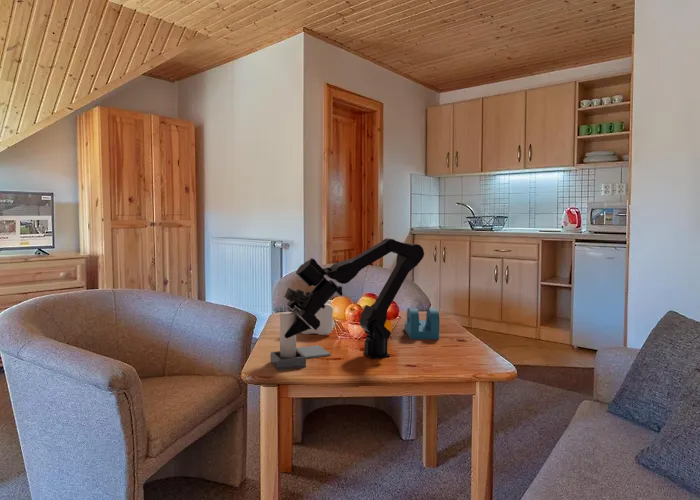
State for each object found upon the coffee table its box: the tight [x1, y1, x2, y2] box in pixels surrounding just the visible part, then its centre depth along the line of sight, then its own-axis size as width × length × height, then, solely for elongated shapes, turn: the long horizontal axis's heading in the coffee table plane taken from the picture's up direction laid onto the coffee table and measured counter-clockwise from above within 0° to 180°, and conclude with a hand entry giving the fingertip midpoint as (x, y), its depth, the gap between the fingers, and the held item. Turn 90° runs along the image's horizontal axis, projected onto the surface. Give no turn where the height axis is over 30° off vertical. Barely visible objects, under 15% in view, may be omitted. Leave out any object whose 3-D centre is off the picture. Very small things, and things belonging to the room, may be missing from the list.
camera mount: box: [404, 307, 441, 340], centre depth 178 cm, size 18×10×10 cm, turn 3°
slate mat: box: [296, 344, 331, 360], centre depth 151 cm, size 10×10×1 cm
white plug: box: [279, 311, 297, 359], centre depth 139 cm, size 5×5×13 cm
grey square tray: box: [270, 349, 307, 372], centre depth 140 cm, size 8×8×3 cm
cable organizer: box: [300, 299, 336, 336], centre depth 178 cm, size 15×11×12 cm
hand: (283, 335), depth 138 cm, fingers closed on white plug, 5 cm apart
